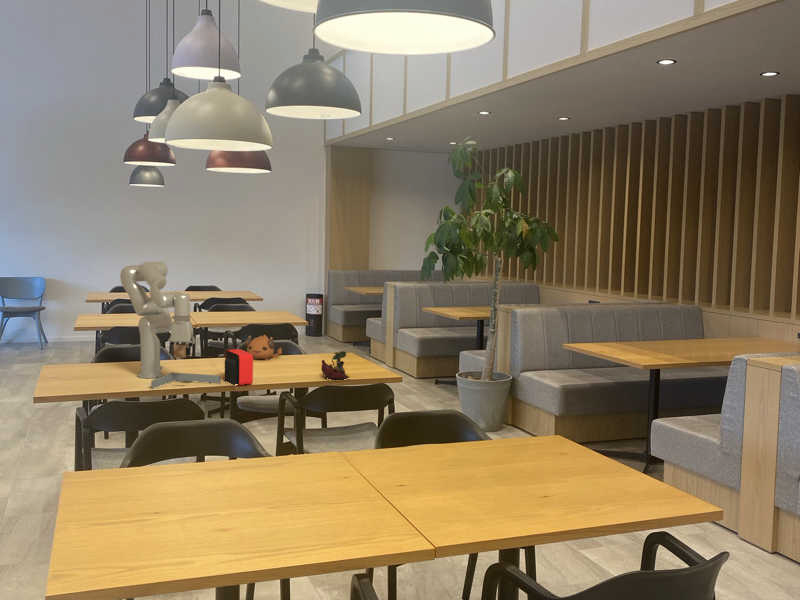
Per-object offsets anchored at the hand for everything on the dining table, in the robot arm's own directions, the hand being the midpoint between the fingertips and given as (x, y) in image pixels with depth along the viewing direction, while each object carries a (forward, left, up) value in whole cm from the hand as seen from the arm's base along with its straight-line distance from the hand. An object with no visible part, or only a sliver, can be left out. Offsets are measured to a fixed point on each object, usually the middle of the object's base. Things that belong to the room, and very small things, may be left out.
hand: (182, 355), depth 378 cm
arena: (+2, +4, -15) cm, 15 cm away
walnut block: (0, 0, -1) cm, 1 cm away
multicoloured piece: (-36, +69, -15) cm, 79 cm away
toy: (-79, +13, -15) cm, 82 cm away
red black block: (-12, +24, -15) cm, 30 cm away
